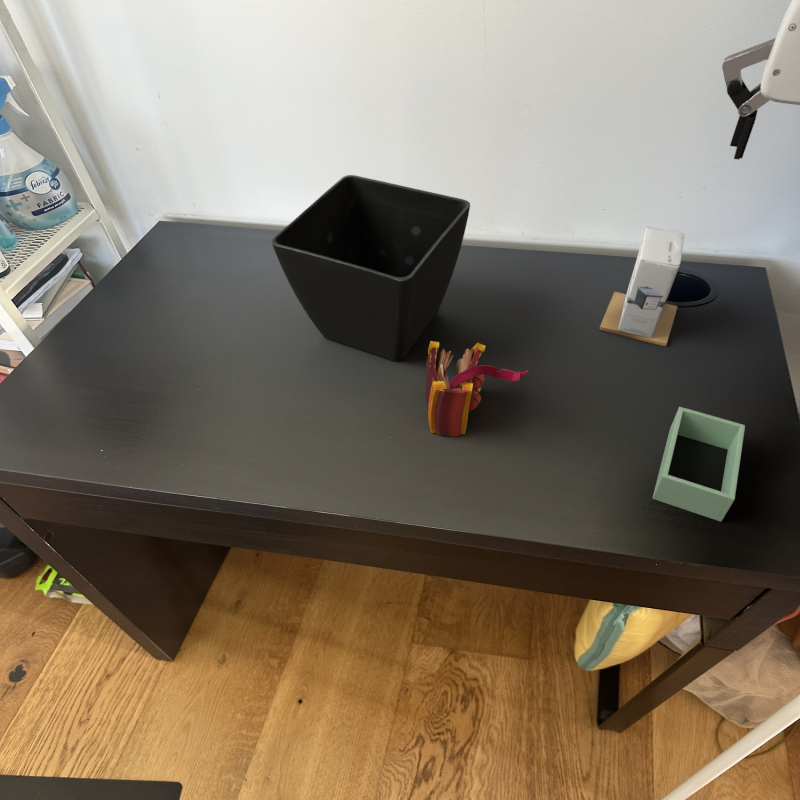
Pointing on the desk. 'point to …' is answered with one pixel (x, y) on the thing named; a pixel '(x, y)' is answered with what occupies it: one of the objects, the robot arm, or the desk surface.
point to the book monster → (457, 388)
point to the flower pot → (373, 261)
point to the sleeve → (695, 494)
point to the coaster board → (612, 324)
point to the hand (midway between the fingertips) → (792, 161)
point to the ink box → (651, 281)
